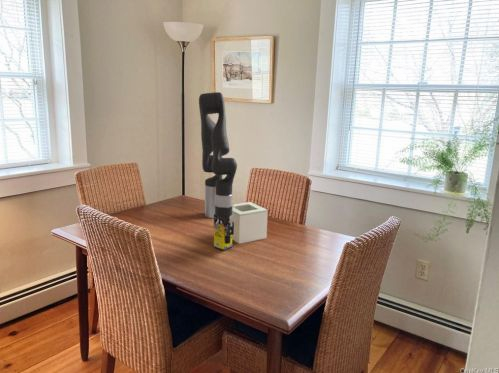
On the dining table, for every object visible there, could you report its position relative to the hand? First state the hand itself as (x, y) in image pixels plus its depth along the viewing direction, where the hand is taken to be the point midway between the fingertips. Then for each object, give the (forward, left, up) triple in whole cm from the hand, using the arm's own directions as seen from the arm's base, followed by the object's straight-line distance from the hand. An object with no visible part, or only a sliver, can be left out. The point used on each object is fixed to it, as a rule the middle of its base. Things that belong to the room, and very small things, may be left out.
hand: (223, 240), depth 180 cm
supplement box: (0, 0, -4) cm, 4 cm away
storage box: (-8, +16, -3) cm, 18 cm away
